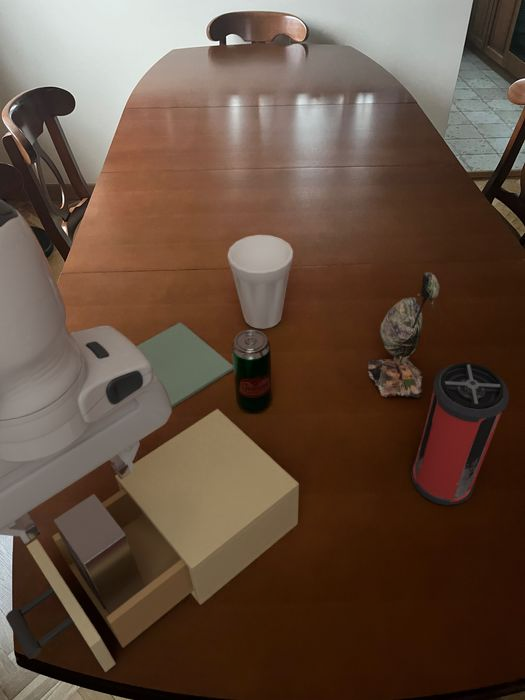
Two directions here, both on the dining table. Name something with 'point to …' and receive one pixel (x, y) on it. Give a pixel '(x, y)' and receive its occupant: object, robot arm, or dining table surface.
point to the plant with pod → (402, 344)
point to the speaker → (458, 431)
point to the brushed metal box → (100, 553)
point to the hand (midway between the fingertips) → (78, 501)
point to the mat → (183, 362)
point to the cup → (261, 277)
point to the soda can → (252, 370)
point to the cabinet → (214, 500)
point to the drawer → (125, 622)
